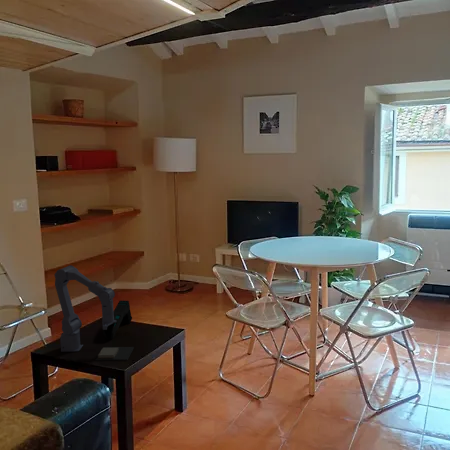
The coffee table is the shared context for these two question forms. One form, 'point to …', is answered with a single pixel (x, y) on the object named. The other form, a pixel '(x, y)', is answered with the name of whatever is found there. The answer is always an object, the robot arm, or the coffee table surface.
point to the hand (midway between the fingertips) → (109, 338)
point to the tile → (108, 353)
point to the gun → (121, 316)
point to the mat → (118, 354)
